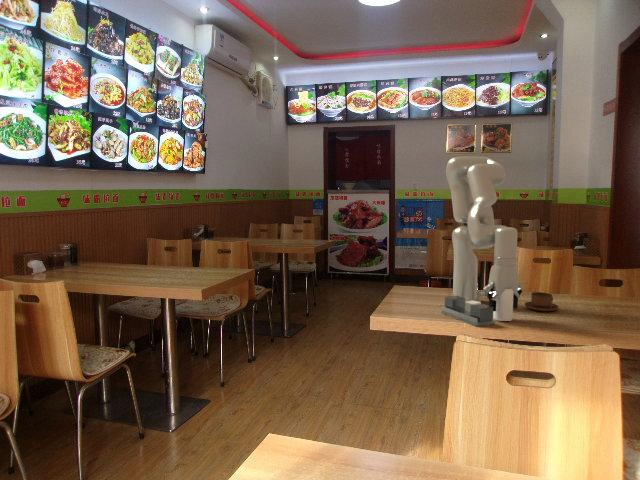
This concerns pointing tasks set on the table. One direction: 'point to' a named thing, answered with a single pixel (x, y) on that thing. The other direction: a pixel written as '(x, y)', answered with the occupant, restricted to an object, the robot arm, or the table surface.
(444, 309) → the gray slotted holder
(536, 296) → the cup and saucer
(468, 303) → the block
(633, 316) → the table surface
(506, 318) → the can
